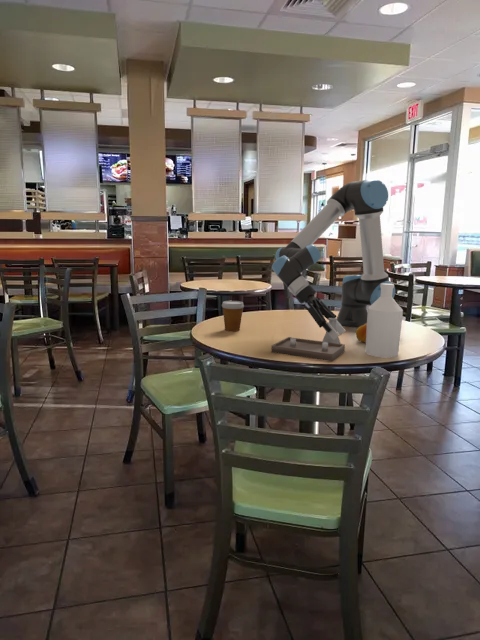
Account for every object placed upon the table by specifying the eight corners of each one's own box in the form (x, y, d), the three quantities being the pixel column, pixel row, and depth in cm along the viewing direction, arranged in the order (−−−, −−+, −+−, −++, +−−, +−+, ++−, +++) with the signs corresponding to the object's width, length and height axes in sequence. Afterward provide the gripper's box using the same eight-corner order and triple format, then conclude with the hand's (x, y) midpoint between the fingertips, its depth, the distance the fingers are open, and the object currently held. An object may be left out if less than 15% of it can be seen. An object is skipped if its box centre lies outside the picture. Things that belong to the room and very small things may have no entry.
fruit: (353, 339, 188) (354, 320, 187) (374, 340, 188) (376, 321, 186) (357, 344, 180) (359, 324, 178) (380, 345, 180) (381, 325, 178)
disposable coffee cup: (241, 333, 195) (241, 304, 193) (218, 331, 197) (219, 303, 195) (245, 328, 204) (246, 301, 202) (224, 327, 206) (224, 300, 204)
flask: (341, 343, 182) (343, 317, 180) (339, 347, 176) (341, 321, 174) (323, 341, 185) (324, 316, 183) (320, 345, 178) (321, 319, 176)
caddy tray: (287, 343, 179) (288, 333, 179) (344, 351, 170) (345, 340, 169) (271, 352, 165) (271, 341, 165) (332, 361, 156) (332, 349, 155)
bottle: (362, 348, 174) (367, 281, 169) (394, 350, 173) (400, 282, 168) (367, 357, 162) (373, 285, 158) (402, 358, 161) (409, 286, 157)
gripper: (304, 293, 193) (340, 336, 189) (285, 299, 174) (324, 347, 170) (317, 281, 190) (354, 324, 186) (299, 286, 171) (339, 334, 167)
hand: (339, 335), depth 178 cm, fingers open, 9 cm apart
